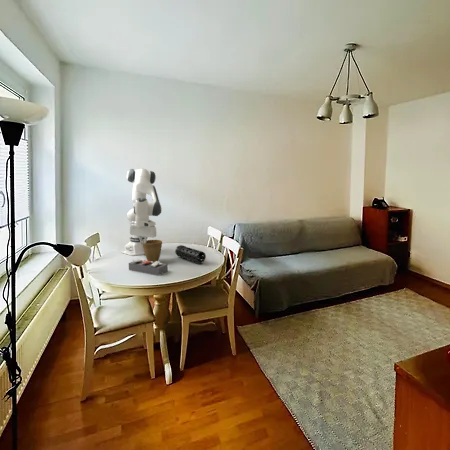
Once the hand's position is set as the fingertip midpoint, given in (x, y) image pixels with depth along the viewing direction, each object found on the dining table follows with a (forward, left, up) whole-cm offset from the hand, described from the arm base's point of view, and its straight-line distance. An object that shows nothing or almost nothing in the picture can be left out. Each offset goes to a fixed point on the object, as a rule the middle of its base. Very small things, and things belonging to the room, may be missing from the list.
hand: (143, 242), depth 203 cm
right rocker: (+8, +2, -15) cm, 17 cm away
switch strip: (0, +4, -21) cm, 21 cm away
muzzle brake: (+14, +37, -22) cm, 45 cm away
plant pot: (-10, +22, -21) cm, 32 cm away
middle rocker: (0, +2, -15) cm, 15 cm away
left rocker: (-8, +2, -15) cm, 17 cm away
